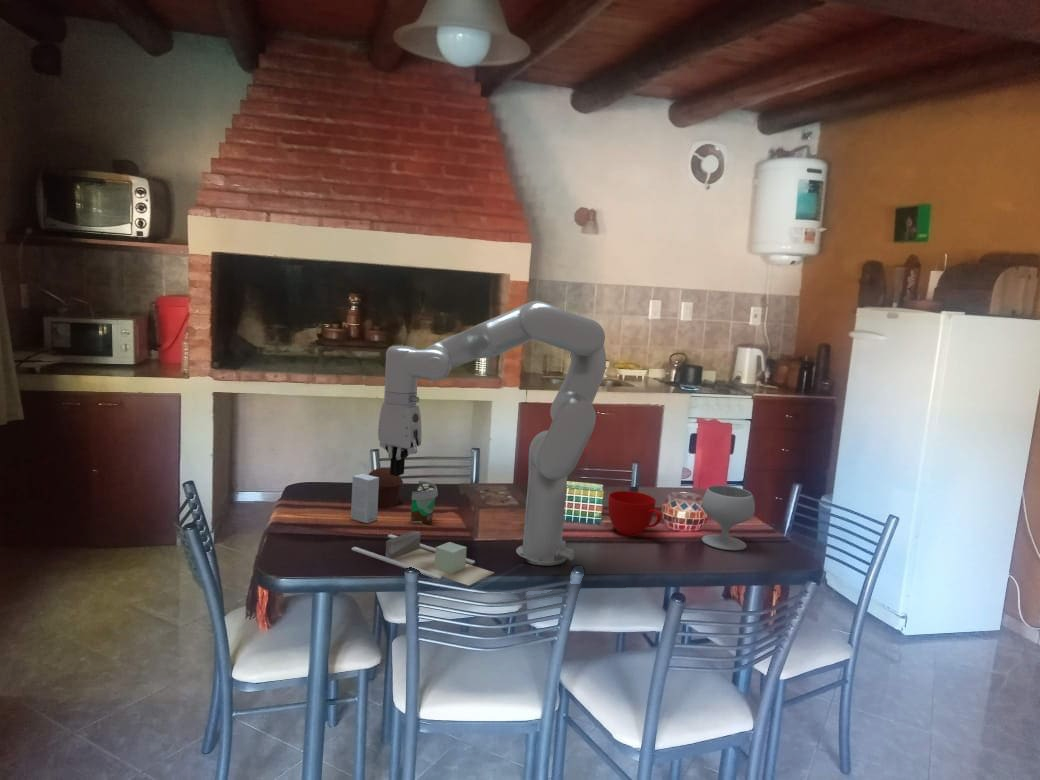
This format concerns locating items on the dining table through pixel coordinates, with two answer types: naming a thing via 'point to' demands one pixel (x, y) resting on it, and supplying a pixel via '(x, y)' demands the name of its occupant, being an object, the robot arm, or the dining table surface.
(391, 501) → the muffin
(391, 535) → the lane rails
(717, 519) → the chalice
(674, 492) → the dining table surface
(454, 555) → the block
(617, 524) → the ceramic cup
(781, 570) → the dining table surface
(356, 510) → the skincare box
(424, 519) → the food container
